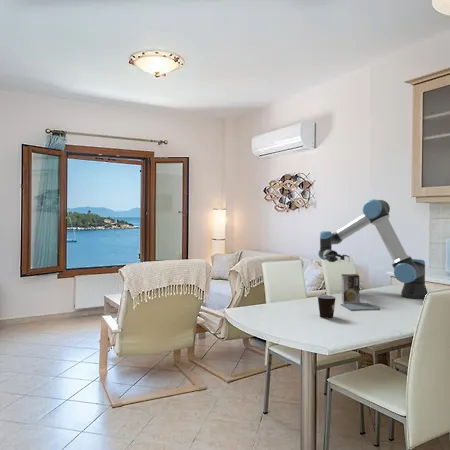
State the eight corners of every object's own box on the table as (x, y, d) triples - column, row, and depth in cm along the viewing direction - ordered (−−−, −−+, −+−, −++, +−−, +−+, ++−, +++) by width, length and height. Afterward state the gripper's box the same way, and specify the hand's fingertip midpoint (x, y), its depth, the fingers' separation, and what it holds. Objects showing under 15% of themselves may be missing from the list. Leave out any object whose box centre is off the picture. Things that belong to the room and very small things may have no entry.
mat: (367, 304, 238) (367, 303, 238) (379, 309, 224) (379, 308, 224) (340, 304, 237) (340, 303, 237) (351, 310, 222) (350, 309, 222)
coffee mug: (325, 319, 203) (325, 299, 203) (314, 316, 211) (314, 296, 210) (343, 317, 208) (343, 296, 208) (331, 313, 216) (331, 294, 216)
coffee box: (357, 301, 246) (357, 274, 245) (359, 303, 239) (359, 275, 239) (341, 301, 247) (341, 273, 246) (343, 303, 240) (343, 275, 240)
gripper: (344, 261, 275) (359, 265, 252) (317, 261, 273) (330, 266, 250) (344, 249, 275) (359, 253, 252) (317, 250, 273) (330, 253, 250)
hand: (344, 259), depth 251 cm, fingers open, 5 cm apart
